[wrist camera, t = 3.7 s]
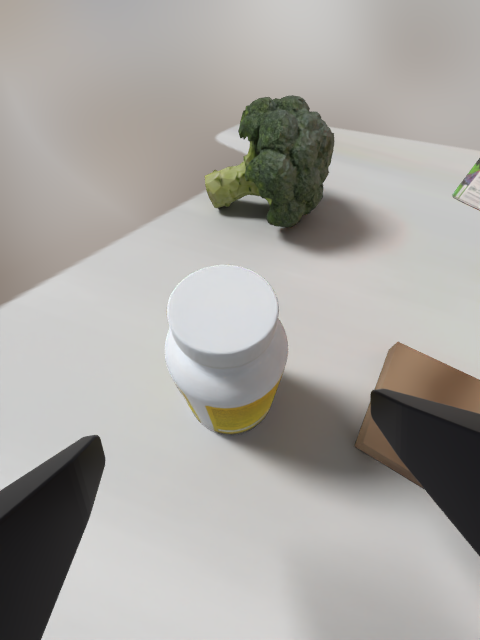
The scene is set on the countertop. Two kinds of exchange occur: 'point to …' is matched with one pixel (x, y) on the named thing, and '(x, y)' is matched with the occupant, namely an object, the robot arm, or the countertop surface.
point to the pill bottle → (226, 346)
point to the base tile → (420, 381)
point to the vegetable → (278, 160)
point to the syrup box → (470, 188)
